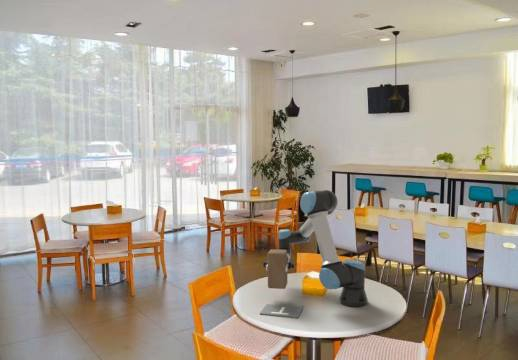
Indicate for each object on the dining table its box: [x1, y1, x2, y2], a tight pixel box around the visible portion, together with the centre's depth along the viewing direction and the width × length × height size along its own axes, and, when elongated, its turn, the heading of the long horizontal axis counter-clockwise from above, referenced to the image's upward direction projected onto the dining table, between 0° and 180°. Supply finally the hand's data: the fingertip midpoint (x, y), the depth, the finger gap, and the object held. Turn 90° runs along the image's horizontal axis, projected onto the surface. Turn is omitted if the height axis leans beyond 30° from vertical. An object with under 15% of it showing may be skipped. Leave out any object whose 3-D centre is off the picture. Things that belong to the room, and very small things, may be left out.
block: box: [266, 248, 288, 290], centre depth 263 cm, size 10×10×20 cm
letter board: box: [259, 303, 304, 319], centre depth 247 cm, size 20×14×1 cm
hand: (276, 269), depth 258 cm, fingers closed on block, 10 cm apart
